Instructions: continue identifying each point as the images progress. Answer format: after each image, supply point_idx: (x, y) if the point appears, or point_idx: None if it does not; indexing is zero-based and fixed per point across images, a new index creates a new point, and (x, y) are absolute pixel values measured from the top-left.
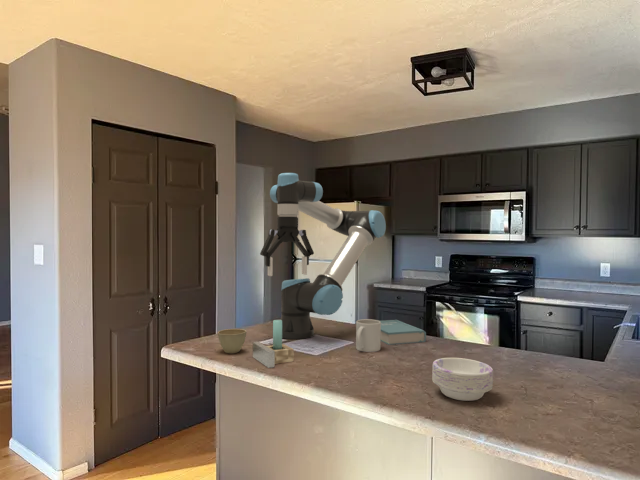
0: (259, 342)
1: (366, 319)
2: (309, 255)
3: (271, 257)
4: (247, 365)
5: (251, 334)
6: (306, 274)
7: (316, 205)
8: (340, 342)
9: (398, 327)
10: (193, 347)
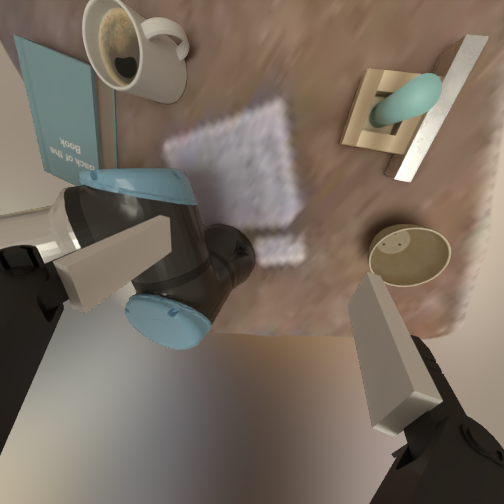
0: (400, 168)
1: (106, 82)
2: (17, 248)
3: (410, 402)
4: (470, 118)
5: (279, 303)
6: (161, 216)
7: None
8: (185, 159)
9: (56, 103)
10: (417, 307)
